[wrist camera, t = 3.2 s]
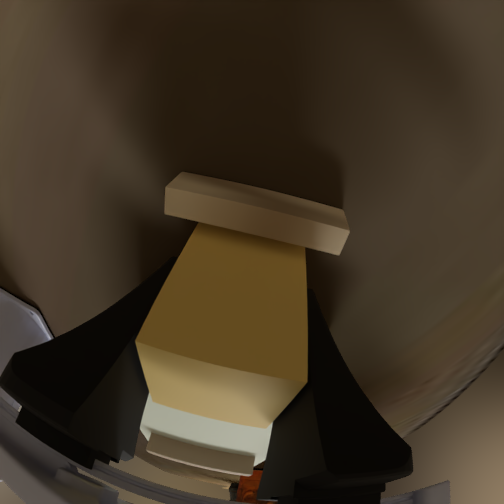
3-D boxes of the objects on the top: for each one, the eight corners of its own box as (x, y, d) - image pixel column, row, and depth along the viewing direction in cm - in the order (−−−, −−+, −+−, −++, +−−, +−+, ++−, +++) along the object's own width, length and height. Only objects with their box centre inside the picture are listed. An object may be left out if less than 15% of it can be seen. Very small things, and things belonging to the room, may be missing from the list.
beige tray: (162, 406, 24) (153, 434, 21) (134, 163, 9) (79, 204, 7) (256, 428, 24) (252, 457, 21) (389, 224, 10) (420, 285, 7)
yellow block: (196, 288, 13) (152, 401, 8) (203, 214, 10) (135, 340, 6) (278, 307, 13) (265, 428, 8) (304, 238, 10) (307, 382, 6)
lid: (153, 436, 21) (146, 457, 19) (109, 341, 10) (85, 389, 8) (252, 459, 21) (248, 481, 19) (331, 394, 10) (332, 448, 8)
